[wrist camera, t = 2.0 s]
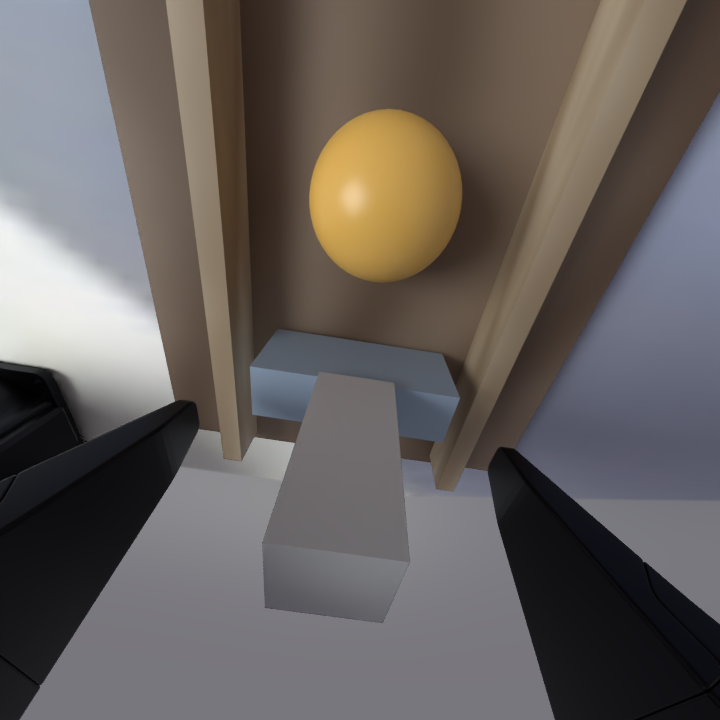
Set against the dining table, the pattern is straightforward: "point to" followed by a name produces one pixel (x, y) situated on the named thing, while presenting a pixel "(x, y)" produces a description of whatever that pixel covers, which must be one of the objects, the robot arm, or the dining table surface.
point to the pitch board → (475, 160)
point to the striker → (344, 467)
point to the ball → (385, 195)
